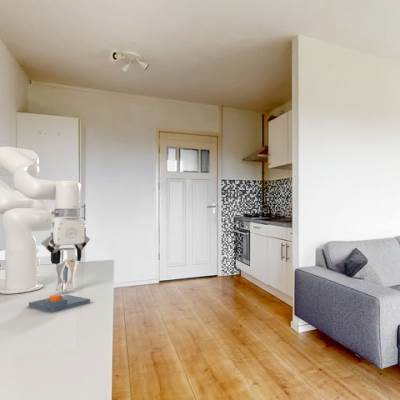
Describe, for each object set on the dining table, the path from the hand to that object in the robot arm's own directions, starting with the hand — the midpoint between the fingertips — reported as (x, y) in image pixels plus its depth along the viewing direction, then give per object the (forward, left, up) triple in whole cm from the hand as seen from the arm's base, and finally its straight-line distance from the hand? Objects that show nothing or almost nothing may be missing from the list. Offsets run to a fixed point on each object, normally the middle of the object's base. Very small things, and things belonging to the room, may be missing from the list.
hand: (66, 261), depth 126 cm
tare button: (+19, -13, -9) cm, 25 cm away
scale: (+15, -10, -12) cm, 21 cm away
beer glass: (0, 0, -10) cm, 10 cm away
